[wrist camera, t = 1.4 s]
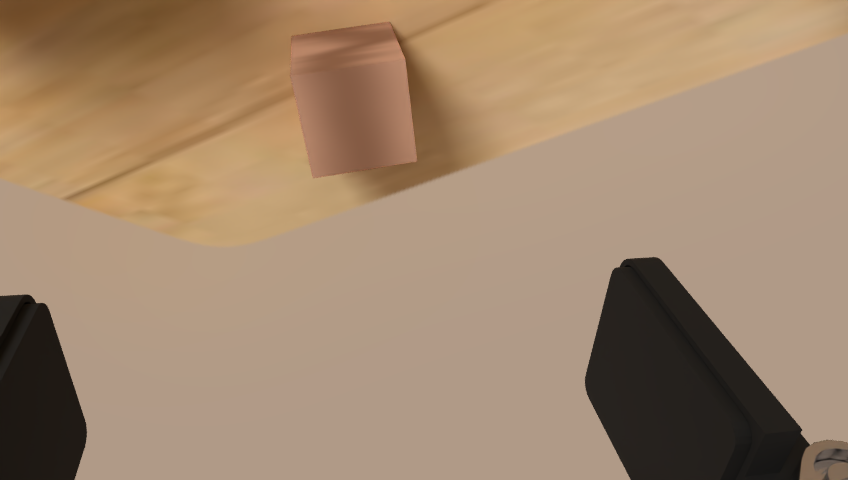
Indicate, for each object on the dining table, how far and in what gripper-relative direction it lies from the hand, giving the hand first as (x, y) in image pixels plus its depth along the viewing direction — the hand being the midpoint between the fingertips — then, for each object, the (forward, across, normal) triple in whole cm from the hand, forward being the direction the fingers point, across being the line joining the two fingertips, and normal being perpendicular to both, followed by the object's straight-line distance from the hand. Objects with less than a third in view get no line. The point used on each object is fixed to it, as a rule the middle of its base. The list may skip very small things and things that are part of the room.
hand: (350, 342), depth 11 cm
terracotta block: (+26, -2, +4) cm, 26 cm away
